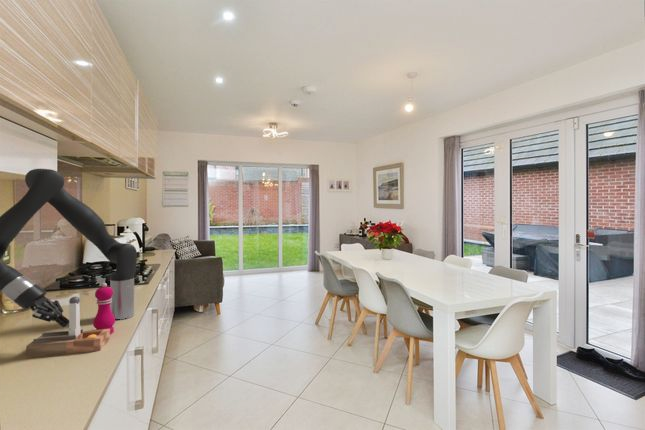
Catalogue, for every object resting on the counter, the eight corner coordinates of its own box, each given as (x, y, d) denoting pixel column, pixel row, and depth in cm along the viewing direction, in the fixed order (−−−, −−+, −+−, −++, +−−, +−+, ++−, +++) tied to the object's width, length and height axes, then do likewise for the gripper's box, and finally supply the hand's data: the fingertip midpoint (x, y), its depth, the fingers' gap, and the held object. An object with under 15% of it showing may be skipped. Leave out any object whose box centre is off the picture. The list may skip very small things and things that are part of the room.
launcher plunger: (72, 334, 116) (72, 295, 115) (82, 333, 117) (81, 294, 116) (66, 338, 112) (66, 298, 111) (77, 337, 113) (76, 298, 112)
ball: (94, 345, 118) (85, 338, 117) (103, 337, 119) (94, 330, 118) (89, 350, 114) (80, 343, 113) (99, 341, 115) (89, 334, 114)
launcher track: (42, 345, 116) (42, 331, 116) (110, 339, 122) (110, 325, 122) (26, 357, 106) (26, 342, 106) (100, 350, 112) (100, 335, 112)
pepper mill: (91, 333, 127) (91, 282, 127) (112, 328, 132) (112, 279, 132) (95, 338, 122) (94, 286, 122) (117, 333, 127) (117, 283, 127)
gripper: (22, 288, 104) (67, 322, 108) (44, 279, 117) (84, 310, 120) (2, 306, 103) (48, 340, 106) (26, 295, 115) (67, 326, 119)
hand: (67, 324), depth 113 cm, fingers closed
